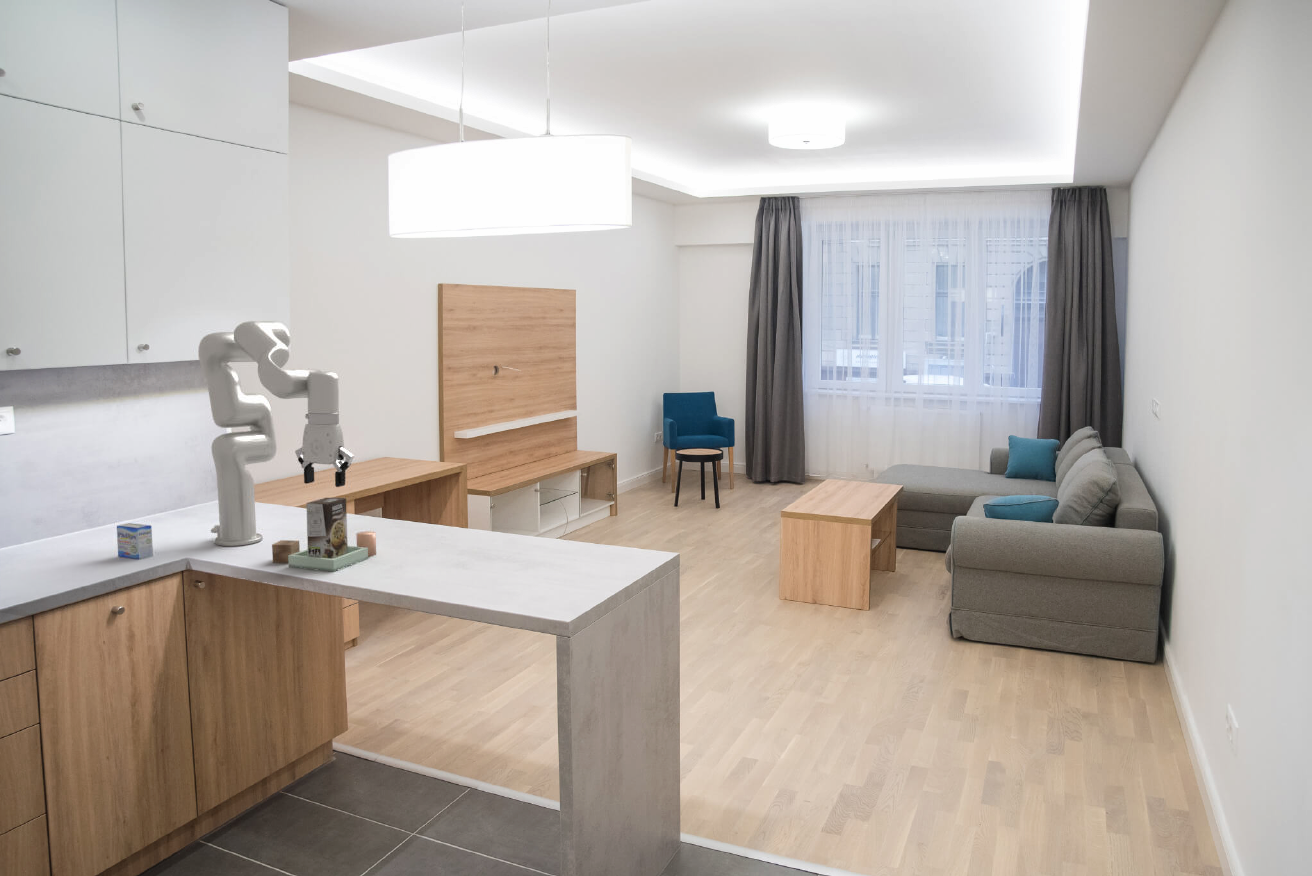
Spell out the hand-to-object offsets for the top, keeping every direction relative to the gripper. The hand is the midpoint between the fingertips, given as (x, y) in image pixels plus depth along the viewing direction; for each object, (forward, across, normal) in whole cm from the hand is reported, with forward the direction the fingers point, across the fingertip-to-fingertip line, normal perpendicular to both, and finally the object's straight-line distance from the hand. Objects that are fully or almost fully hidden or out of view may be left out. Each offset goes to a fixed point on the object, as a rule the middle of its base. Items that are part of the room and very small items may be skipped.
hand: (324, 484), depth 236 cm
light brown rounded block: (+21, +5, +10) cm, 24 cm away
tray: (+21, +1, 0) cm, 21 cm away
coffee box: (+20, +1, 0) cm, 20 cm away
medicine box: (+23, -52, -12) cm, 58 cm away
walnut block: (+21, -11, -2) cm, 24 cm away
